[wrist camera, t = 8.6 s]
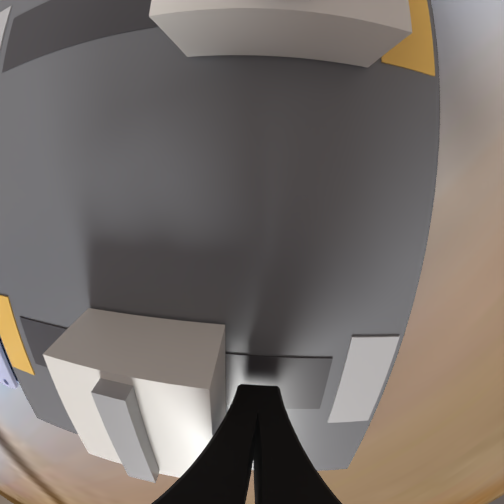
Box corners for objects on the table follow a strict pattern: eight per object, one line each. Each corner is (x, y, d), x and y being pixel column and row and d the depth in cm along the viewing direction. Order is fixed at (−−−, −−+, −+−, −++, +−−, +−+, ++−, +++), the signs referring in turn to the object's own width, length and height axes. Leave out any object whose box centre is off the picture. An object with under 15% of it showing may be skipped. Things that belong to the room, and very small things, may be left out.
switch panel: (51, 398, 15) (36, 418, 13) (31, -32, 7) (10, -43, 5) (342, 441, 14) (347, 469, 12) (391, -69, 6) (405, -92, 4)
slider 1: (114, 404, 11) (83, 464, 8) (88, 308, 10) (32, 365, 6) (226, 424, 11) (214, 496, 8) (225, 324, 9) (205, 406, 6)
